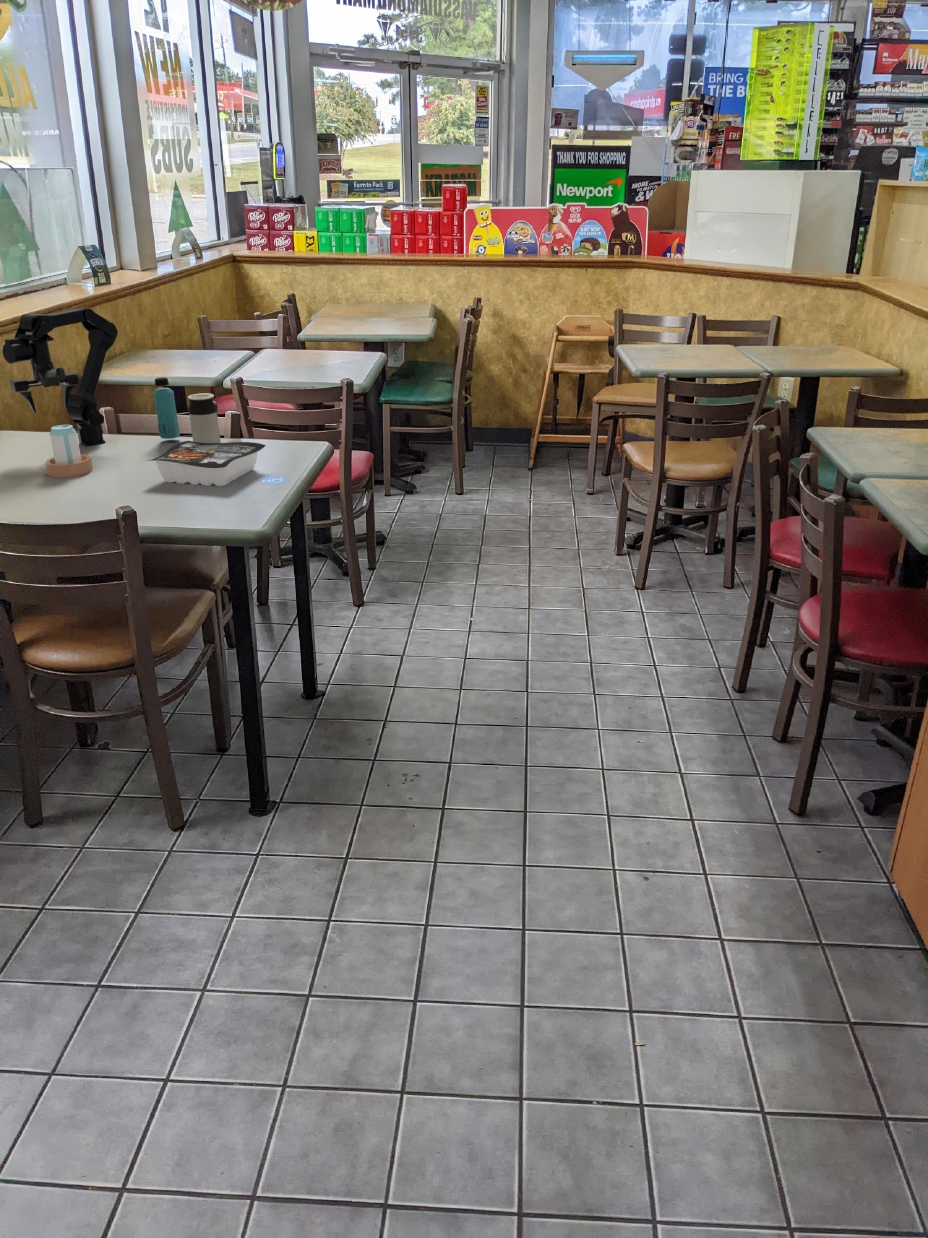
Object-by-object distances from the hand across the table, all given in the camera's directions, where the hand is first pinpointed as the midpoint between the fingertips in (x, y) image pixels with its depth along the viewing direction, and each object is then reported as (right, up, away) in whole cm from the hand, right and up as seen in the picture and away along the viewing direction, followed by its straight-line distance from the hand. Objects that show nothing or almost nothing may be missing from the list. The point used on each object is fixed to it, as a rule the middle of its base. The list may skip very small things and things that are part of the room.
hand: (50, 410), depth 298 cm
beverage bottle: (+32, -7, +16) cm, 36 cm away
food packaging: (+54, -23, -21) cm, 63 cm away
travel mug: (+48, -14, -2) cm, 50 cm away
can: (+12, -20, -15) cm, 27 cm away
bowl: (+12, -21, -15) cm, 28 cm away
